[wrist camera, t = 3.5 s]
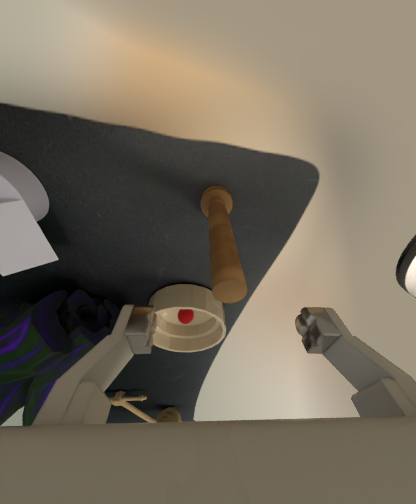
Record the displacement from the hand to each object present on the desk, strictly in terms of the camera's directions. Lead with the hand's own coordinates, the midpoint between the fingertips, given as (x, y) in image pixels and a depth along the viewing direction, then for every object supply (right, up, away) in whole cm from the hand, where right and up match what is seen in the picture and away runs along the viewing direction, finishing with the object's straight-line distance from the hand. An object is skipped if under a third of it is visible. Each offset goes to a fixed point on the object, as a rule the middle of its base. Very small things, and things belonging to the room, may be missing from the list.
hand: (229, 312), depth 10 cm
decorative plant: (-31, -9, +28) cm, 42 cm away
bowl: (-6, -8, +27) cm, 29 cm away
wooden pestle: (0, +10, +14) cm, 17 cm away
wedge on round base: (-26, +10, +14) cm, 31 cm away
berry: (-6, -9, +25) cm, 27 cm away
